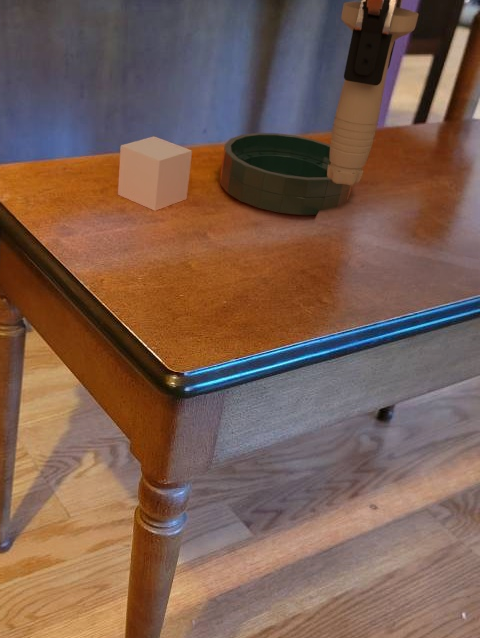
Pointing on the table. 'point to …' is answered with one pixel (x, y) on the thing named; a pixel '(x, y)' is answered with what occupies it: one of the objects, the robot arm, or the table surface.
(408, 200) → the table surface
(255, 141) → the bowl
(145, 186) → the beige cube
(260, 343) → the table surface
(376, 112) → the handle
